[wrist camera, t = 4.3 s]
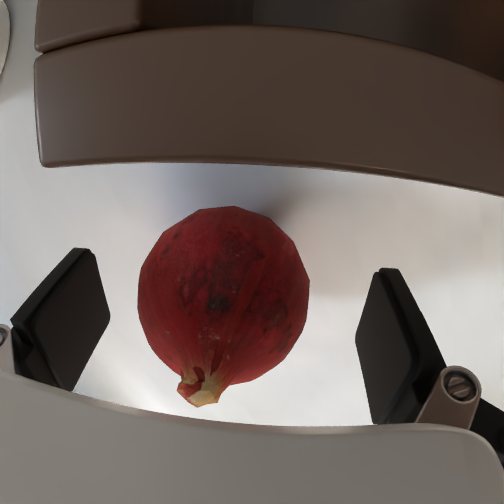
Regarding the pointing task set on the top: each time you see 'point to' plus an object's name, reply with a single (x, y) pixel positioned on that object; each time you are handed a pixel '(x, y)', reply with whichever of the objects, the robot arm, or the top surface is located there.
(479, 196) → the top surface
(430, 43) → the bin
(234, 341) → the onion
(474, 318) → the top surface
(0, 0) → the milk bottle
